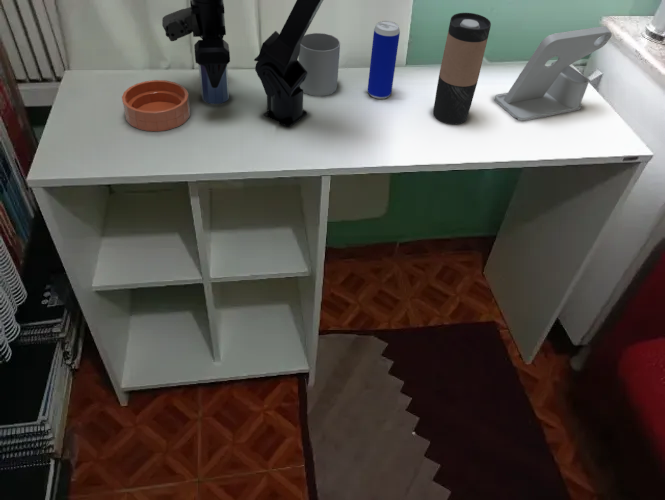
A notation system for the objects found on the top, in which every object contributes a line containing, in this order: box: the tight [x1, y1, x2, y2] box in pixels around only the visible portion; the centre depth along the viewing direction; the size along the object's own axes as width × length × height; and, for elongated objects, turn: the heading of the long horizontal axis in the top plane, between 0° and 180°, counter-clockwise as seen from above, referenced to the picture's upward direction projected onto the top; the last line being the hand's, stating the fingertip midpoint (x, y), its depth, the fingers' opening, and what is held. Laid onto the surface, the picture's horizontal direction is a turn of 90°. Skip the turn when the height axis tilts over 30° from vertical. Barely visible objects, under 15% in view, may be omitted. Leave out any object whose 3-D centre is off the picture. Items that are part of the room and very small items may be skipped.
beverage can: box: [367, 20, 401, 100], centre depth 127 cm, size 5×5×15 cm
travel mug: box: [432, 12, 492, 125], centre depth 120 cm, size 8×8×20 cm
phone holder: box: [494, 25, 613, 122], centre depth 127 cm, size 17×10×18 cm, turn 113°
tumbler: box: [198, 64, 230, 105], centre depth 123 cm, size 5×5×10 cm
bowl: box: [121, 79, 191, 132], centre depth 119 cm, size 12×12×4 cm
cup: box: [298, 32, 341, 97], centre depth 129 cm, size 8×8×10 cm
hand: (213, 75), depth 122 cm, fingers open, 9 cm apart
